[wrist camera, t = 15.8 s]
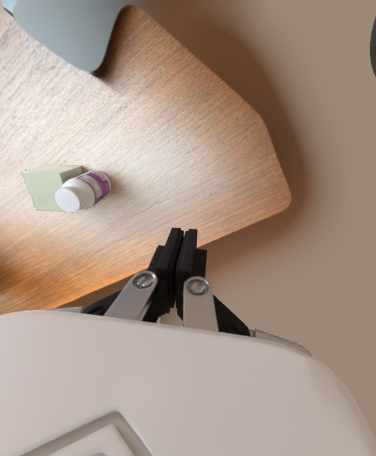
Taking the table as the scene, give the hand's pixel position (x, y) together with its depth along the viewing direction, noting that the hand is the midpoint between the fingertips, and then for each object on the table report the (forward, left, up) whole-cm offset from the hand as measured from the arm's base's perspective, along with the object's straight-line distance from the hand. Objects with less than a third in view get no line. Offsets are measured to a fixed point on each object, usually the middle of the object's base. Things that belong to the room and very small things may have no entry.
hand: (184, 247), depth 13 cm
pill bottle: (+17, -11, -25) cm, 32 cm away
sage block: (+22, -15, -25) cm, 36 cm away
